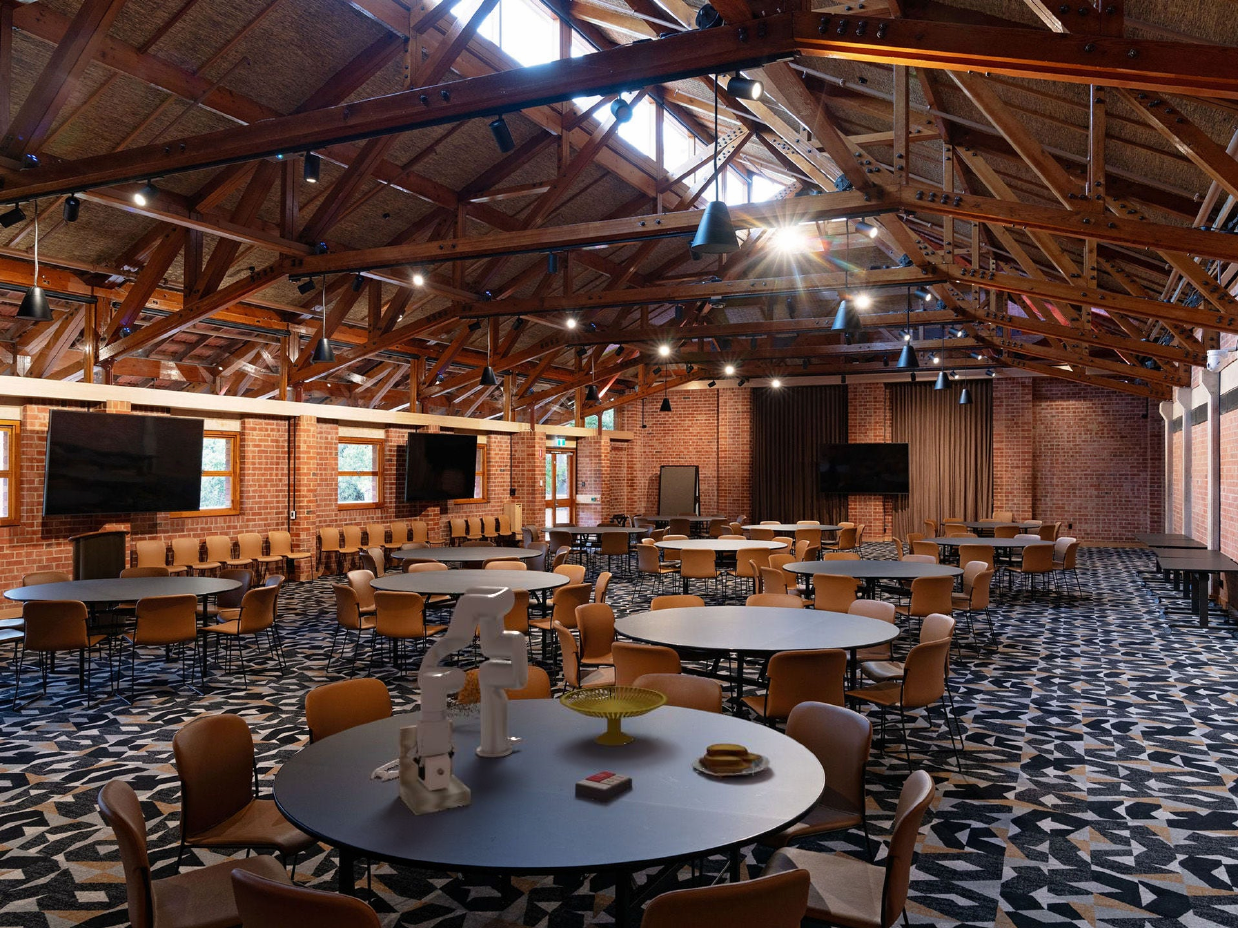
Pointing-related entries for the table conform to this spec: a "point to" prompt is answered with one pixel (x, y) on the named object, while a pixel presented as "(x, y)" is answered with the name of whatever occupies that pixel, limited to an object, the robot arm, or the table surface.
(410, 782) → the beige zigzag bookend
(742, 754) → the food on plate
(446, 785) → the pale taupe block
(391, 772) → the door handle
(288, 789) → the table surface
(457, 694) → the dried plant
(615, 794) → the small patterned box
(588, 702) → the yellow pedestal fruit bowl
